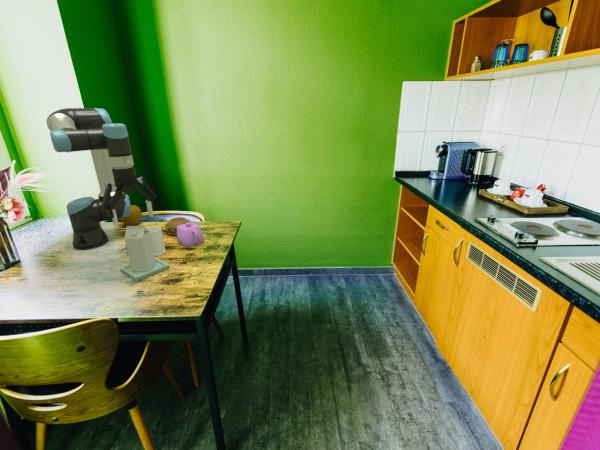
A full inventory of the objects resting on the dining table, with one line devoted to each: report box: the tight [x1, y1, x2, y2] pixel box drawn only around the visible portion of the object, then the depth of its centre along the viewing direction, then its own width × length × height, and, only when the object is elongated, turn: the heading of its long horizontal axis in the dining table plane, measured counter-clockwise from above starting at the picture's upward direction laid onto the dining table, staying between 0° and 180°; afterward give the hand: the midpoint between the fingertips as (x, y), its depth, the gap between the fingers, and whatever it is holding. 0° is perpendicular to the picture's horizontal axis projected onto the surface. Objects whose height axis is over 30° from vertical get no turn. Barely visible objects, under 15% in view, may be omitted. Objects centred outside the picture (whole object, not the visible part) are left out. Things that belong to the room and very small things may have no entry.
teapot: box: [176, 221, 204, 248], centre depth 155 cm, size 18×10×10 cm, turn 44°
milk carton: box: [124, 225, 156, 272], centre depth 125 cm, size 7×7×19 cm
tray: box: [119, 256, 171, 283], centre depth 128 cm, size 14×14×2 cm
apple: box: [118, 204, 142, 226], centre depth 180 cm, size 13×13×11 cm
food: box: [164, 216, 192, 236], centre depth 168 cm, size 14×14×8 cm
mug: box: [145, 225, 167, 257], centre depth 141 cm, size 12×8×12 cm
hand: (134, 220), depth 121 cm, fingers open, 13 cm apart
